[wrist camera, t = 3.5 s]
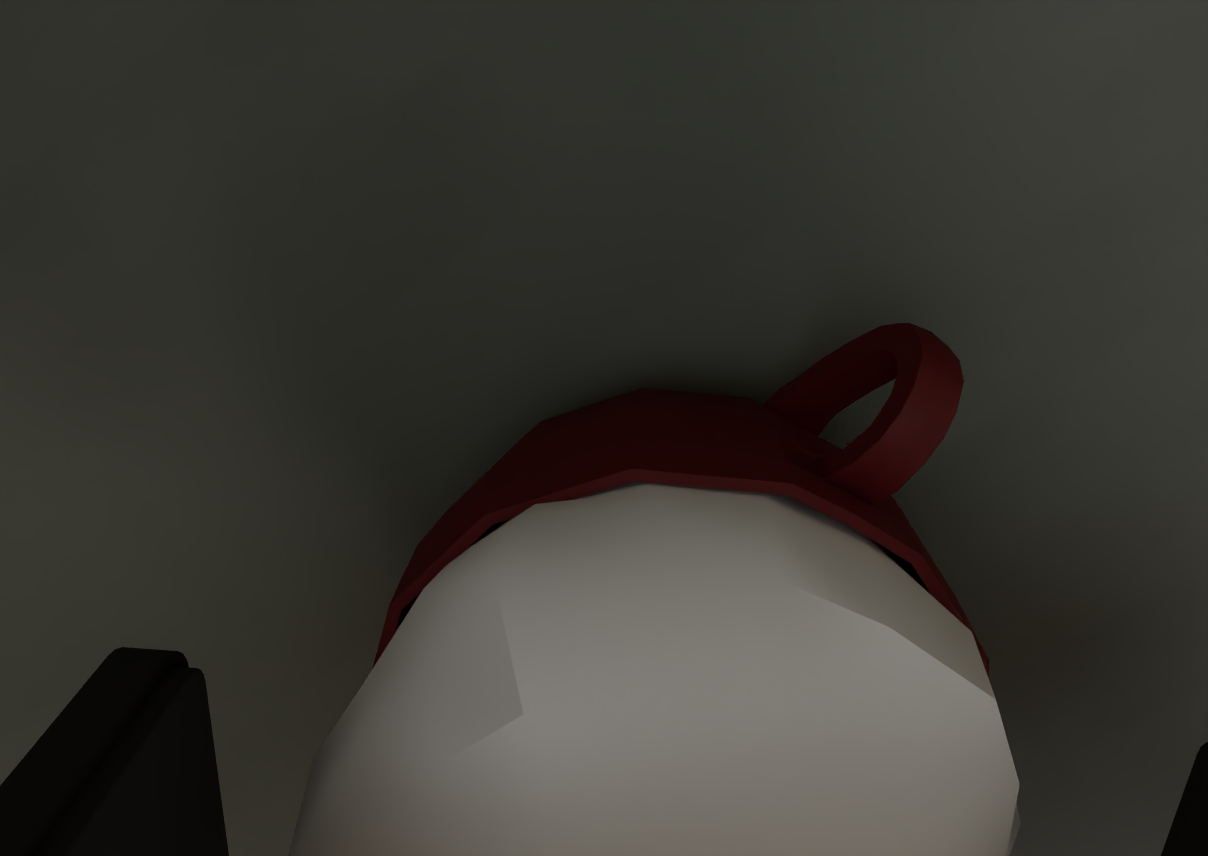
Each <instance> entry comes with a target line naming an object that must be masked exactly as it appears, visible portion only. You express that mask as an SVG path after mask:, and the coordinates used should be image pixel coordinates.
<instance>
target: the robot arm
mask: <svg viewBox="0 0 1208 856" xmlns="http://www.w3.org/2000/svg"><path fill="white" fill-rule="evenodd" d="M0 856H229V853H228V845H227V838H226V831H225V823H224V816H223V808H222V801H221V793H220V786H219V778H218V771H217V764H216V756H215V749H214V741H213V734H212V726H211V719H210V712H209V704H208V697H207V689H206V682H205V678H204V674H203V673H202V671H201V670H200V669H198V668H189V666H188V662H187V659H186V658H185V656H184V655H183V653H181V652H178V651H169V650H155V649H141V648H127V647H121V648H118V649H115V650H114V651H113V652H112V653H111V654H109V655H108V656H107V658H106V659H105V660H104V661H103V662H102V664H101V665H100V666H99V667H98V668H97V670H96V671H95V672H94V673H93V674H92V676H91V677H90V678H89V679H88V681H87V682H86V683H85V684H84V685H83V687H82V688H81V689H80V690H79V691H78V693H77V694H76V695H75V696H74V697H73V699H72V700H71V701H70V702H69V703H68V705H67V706H66V707H65V708H64V709H63V711H62V712H61V713H60V714H59V716H58V717H57V718H56V719H55V720H54V722H53V723H52V724H51V725H50V726H49V728H48V729H47V730H46V731H45V732H44V734H43V735H42V736H41V737H40V738H39V740H38V741H37V742H36V743H35V745H34V746H33V747H32V748H31V749H30V751H29V752H28V753H27V754H26V755H25V757H24V758H23V759H22V760H21V761H20V763H19V764H18V765H17V766H16V767H15V769H14V770H13V771H12V772H11V774H10V775H9V776H8V777H7V778H6V780H5V781H4V782H3V783H2V784H1V786H0ZM1161 856H1208V742H1206V743H1205V744H1204V745H1202V746H1201V748H1200V750H1199V751H1198V753H1197V756H1196V759H1195V761H1194V764H1193V767H1192V770H1191V773H1190V775H1189V778H1188V781H1187V784H1186V787H1185V789H1184V792H1183V795H1182V798H1181V801H1180V803H1179V806H1178V809H1177V812H1176V815H1175V817H1174V820H1173V823H1172V826H1171V829H1170V831H1169V834H1168V837H1167V840H1166V843H1165V845H1164V848H1163V851H1162V854H1161Z"/></svg>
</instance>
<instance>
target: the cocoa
mask: <svg viewBox="0 0 1208 856" xmlns="http://www.w3.org/2000/svg"><path fill="white" fill-rule="evenodd" d="M895 378H896V381H895V384H894V387H893V390H892V393H891V395H890V397H889V399H888V400H887V402H886V403H885V405H884V407H883V408H882V410H881V411H880V413H879V414H878V416H877V417H876V419H875V420H874V421H873V423H872V424H871V426H870V427H869V428H868V429H867V430H866V431H865V432H863V433H862V434H861V435H860V436H859V437H857V438H856V439H855V440H854V441H853V442H851V443H850V444H849V445H848V446H847V447H845V448H844V449H843V450H840V449H839V448H837V447H836V446H834V445H832V444H830V443H829V442H827V441H825V440H823V439H821V438H820V437H818V436H817V435H818V434H819V433H820V432H821V431H822V430H823V429H824V427H825V426H826V425H827V424H828V422H829V421H830V420H831V419H832V418H833V417H834V416H835V415H836V414H837V413H838V412H840V411H841V410H843V409H844V408H846V407H847V406H849V405H850V404H852V403H854V402H855V401H857V400H858V399H860V398H862V397H863V396H865V395H866V394H868V393H869V392H871V391H873V390H875V389H876V388H878V387H880V386H882V385H884V384H886V383H888V382H889V381H891V380H893V379H895ZM963 382H964V379H963V375H962V370H961V366H960V361H959V359H958V358H957V357H956V355H955V354H954V353H953V352H952V350H951V349H950V348H949V347H948V346H947V345H946V344H945V343H944V342H942V341H941V340H940V339H939V338H938V337H937V336H935V335H934V334H933V333H932V332H931V331H928V330H926V329H923V328H921V327H918V326H916V325H913V324H911V323H896V324H890V325H883V326H880V327H878V328H876V329H874V330H872V331H870V332H868V333H866V334H864V335H862V336H860V337H858V338H856V339H854V340H852V341H850V342H848V343H847V344H845V345H844V346H842V347H840V348H839V349H837V350H835V351H834V352H832V353H831V354H829V355H827V356H826V357H824V358H823V359H821V360H820V361H818V362H817V363H816V364H814V365H813V366H812V367H810V368H809V369H808V370H806V371H805V372H803V373H802V374H801V375H799V376H798V377H797V378H795V379H794V380H792V381H791V382H789V383H788V384H786V385H785V386H783V387H782V388H780V389H779V390H778V391H777V392H776V393H775V394H774V395H773V396H772V397H771V398H769V399H768V400H767V401H766V402H765V403H764V404H763V405H762V404H760V403H758V402H756V401H755V400H753V399H751V398H744V397H733V396H722V395H712V394H701V393H690V392H679V391H668V390H657V389H647V388H640V389H637V390H634V391H631V392H628V393H625V394H622V395H619V396H616V397H613V398H610V399H607V400H604V401H601V402H598V403H595V404H592V405H589V406H586V407H583V408H580V409H577V410H574V411H571V412H568V413H565V414H562V415H559V416H556V417H553V418H550V419H547V420H544V421H541V422H540V423H539V424H538V425H537V426H536V427H534V428H533V429H532V430H531V431H530V432H529V433H527V434H526V435H525V436H524V437H523V438H522V439H521V440H520V441H519V442H518V443H517V444H516V445H515V446H514V447H512V448H511V449H510V450H509V451H508V452H507V453H506V454H505V455H504V456H503V457H502V458H501V459H500V460H499V461H498V462H497V463H496V464H495V465H494V466H493V467H492V468H491V469H490V470H489V471H488V472H487V473H486V474H485V475H484V476H483V477H482V478H480V479H479V480H478V481H477V482H476V483H475V484H474V485H473V486H472V487H471V488H470V489H469V490H468V491H467V492H466V493H465V494H464V495H463V496H462V497H461V498H460V499H459V500H458V501H457V502H456V503H455V504H454V505H453V506H452V507H451V508H450V509H448V510H447V511H446V512H445V514H444V515H443V516H442V517H441V518H440V519H439V521H438V522H437V523H436V524H435V525H434V526H433V528H432V529H431V530H430V531H429V532H428V534H427V535H426V536H425V537H424V538H423V539H422V541H421V542H420V543H419V544H418V545H417V547H416V549H415V551H414V554H413V556H412V558H411V560H410V562H409V564H408V566H407V568H406V570H405V572H404V574H403V576H402V578H401V581H400V583H399V585H398V587H397V589H396V592H395V594H394V596H393V598H392V601H391V603H390V605H389V609H388V613H387V616H386V620H385V624H384V628H383V631H382V635H381V639H380V643H379V646H378V650H377V654H376V658H375V661H374V665H373V669H372V671H371V672H370V674H369V675H368V677H367V679H366V680H365V682H364V683H363V685H362V686H361V688H360V689H359V691H358V692H357V694H356V695H355V697H354V698H353V700H352V701H351V703H350V704H349V706H348V707H347V709H346V710H345V712H344V713H343V715H342V716H341V718H340V719H339V721H338V722H337V724H336V725H335V727H334V728H333V730H332V731H331V733H330V735H329V736H328V738H327V739H326V741H325V742H324V744H323V745H322V747H321V748H320V750H319V751H318V753H317V754H316V756H315V757H314V759H313V761H312V765H311V769H310V773H309V777H308V781H307V785H306V789H305V793H304V797H303V801H302V805H301V809H300V813H299V817H298V821H297V825H296V829H295V833H294V837H293V841H292V845H291V849H290V853H289V856H1010V854H1011V851H1012V848H1013V845H1014V842H1015V840H1016V837H1017V834H1018V831H1019V828H1020V825H1021V822H1020V818H1019V814H1018V810H1017V806H1016V802H1017V796H1018V791H1019V786H1020V784H1019V780H1018V777H1017V773H1016V770H1015V766H1014V762H1013V759H1012V755H1011V752H1010V748H1009V745H1008V741H1007V737H1006V734H1005V730H1004V727H1003V723H1002V720H1001V716H1000V712H999V709H998V705H997V702H996V699H995V696H994V693H993V690H992V687H991V684H990V682H989V679H988V678H989V660H988V658H987V656H986V654H985V652H984V650H983V648H982V646H981V644H980V642H979V640H978V638H977V636H976V634H975V632H974V630H973V628H972V626H971V625H970V623H969V621H968V619H967V617H966V615H965V613H964V611H963V610H962V608H961V606H960V604H959V602H958V600H957V598H956V596H955V595H954V593H953V592H952V590H951V588H950V587H949V585H948V584H947V582H946V580H945V579H944V577H943V576H942V574H941V573H940V571H939V569H938V568H937V566H936V565H935V563H934V561H933V560H932V558H931V557H930V555H929V554H928V552H927V550H926V549H925V547H924V546H923V544H922V542H921V541H920V539H919V538H918V536H917V534H916V533H915V531H914V530H913V528H912V527H911V525H910V523H909V522H908V520H907V519H906V517H905V515H904V514H903V512H902V511H901V509H900V508H899V506H898V504H897V503H896V501H895V500H894V498H893V497H892V496H891V495H892V494H893V493H895V492H896V491H898V490H899V489H900V488H901V487H902V486H903V485H904V484H905V483H906V482H907V481H908V480H909V479H910V478H911V477H912V476H913V475H914V474H915V473H916V472H917V471H918V470H919V469H920V468H921V467H922V466H923V465H924V464H925V463H926V461H927V460H928V459H929V457H930V456H931V455H932V453H933V452H934V451H935V449H936V448H937V447H938V445H939V444H940V443H941V441H942V440H943V439H944V437H945V435H946V433H947V431H948V429H949V426H950V424H951V422H952V420H953V418H954V416H955V414H956V412H957V408H958V404H959V399H960V395H961V391H962V386H963Z"/></svg>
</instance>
